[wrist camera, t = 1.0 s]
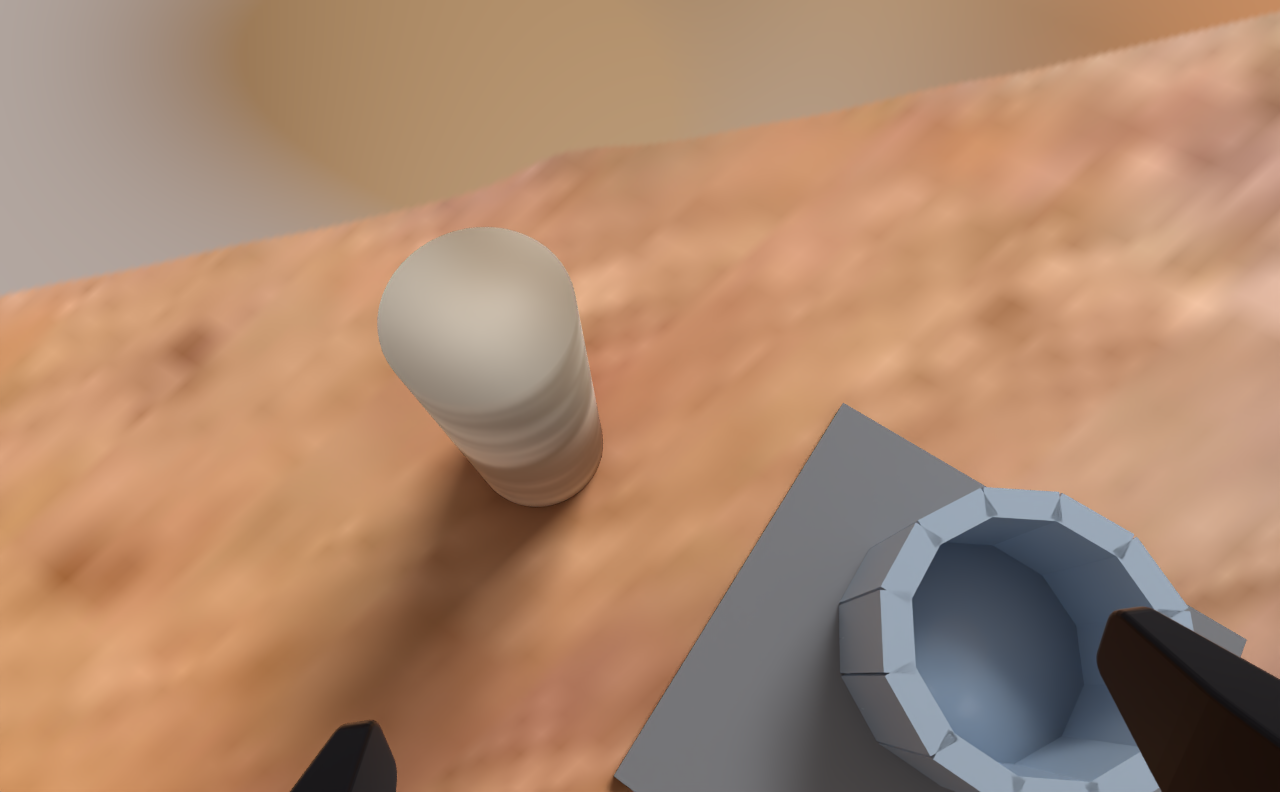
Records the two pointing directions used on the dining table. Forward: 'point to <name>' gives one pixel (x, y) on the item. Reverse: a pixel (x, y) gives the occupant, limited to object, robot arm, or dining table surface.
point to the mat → (802, 636)
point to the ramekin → (1000, 643)
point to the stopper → (497, 359)
